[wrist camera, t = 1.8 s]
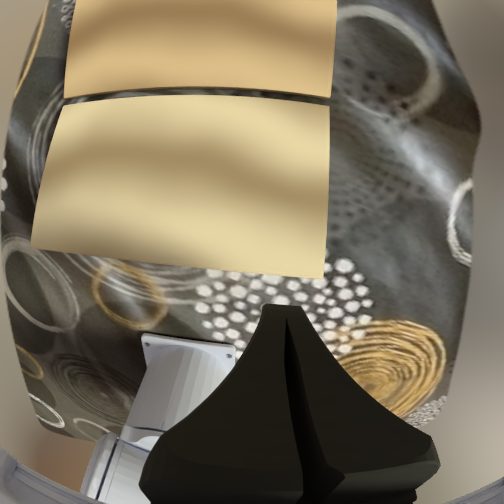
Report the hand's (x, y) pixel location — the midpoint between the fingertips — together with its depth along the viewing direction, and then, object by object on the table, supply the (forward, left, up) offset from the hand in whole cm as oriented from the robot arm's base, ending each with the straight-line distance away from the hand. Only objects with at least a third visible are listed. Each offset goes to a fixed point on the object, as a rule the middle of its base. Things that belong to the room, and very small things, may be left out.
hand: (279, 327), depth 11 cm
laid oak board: (+13, +6, -9) cm, 17 cm away
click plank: (+3, +6, -7) cm, 10 cm away
